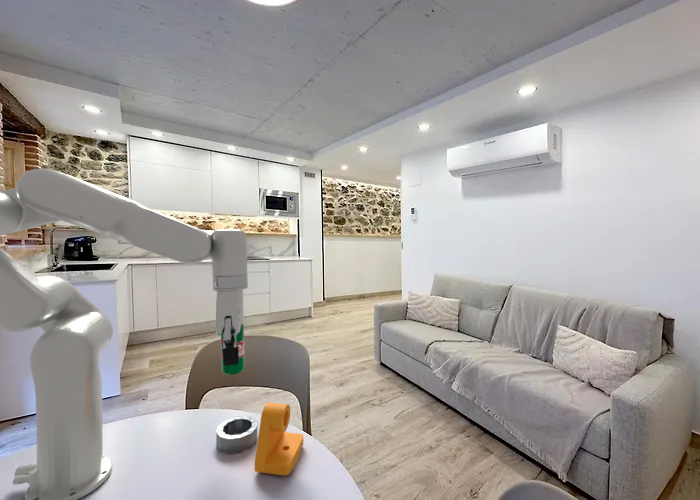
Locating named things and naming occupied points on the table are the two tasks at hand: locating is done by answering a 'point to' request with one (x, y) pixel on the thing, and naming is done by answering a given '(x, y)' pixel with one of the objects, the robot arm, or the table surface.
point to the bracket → (277, 441)
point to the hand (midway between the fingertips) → (233, 358)
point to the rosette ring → (236, 442)
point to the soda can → (240, 343)
